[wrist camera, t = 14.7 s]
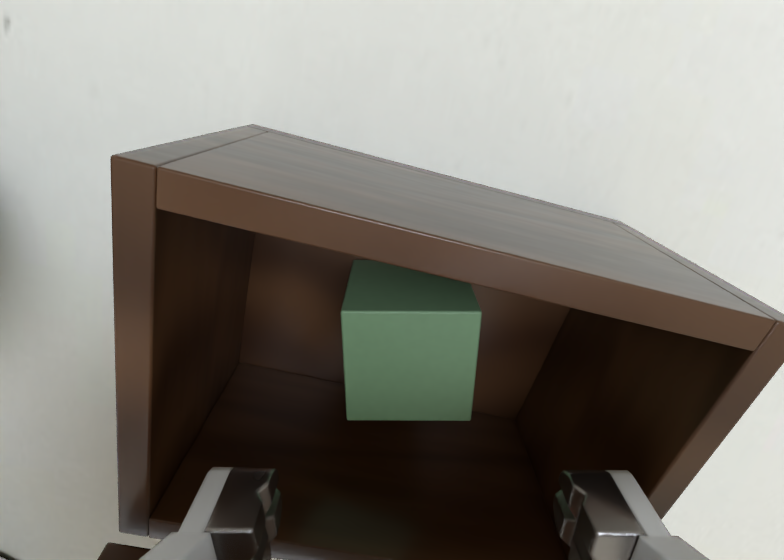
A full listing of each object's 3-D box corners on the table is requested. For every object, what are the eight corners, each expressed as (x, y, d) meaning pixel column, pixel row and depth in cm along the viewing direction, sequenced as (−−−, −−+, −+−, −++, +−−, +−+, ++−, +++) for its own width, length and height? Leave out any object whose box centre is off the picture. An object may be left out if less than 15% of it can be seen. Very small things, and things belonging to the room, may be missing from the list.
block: (353, 258, 18) (339, 311, 13) (461, 259, 18) (483, 311, 13) (356, 350, 19) (346, 421, 15) (454, 350, 19) (471, 421, 15)
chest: (251, 123, 16) (108, 154, 8) (621, 221, 18) (811, 329, 10) (225, 361, 21) (117, 533, 13) (520, 423, 22) (592, 610, 14)
